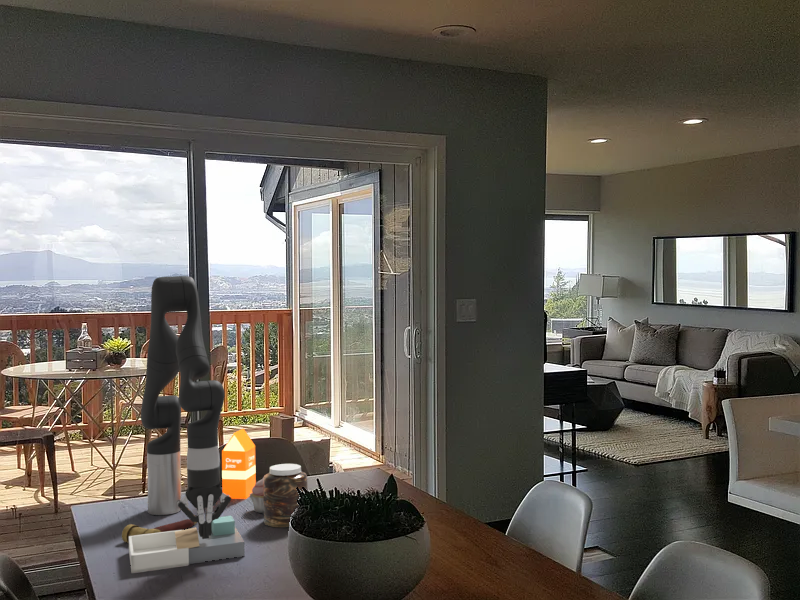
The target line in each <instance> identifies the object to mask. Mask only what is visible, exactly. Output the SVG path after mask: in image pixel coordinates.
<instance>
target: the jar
mask: <svg viewBox="0 0 800 600" xmlns="http://www.w3.org/2000/svg"><path fill="white" fill-rule="evenodd" d="M263 477H264V483H263V504H264V513H263V523H264V525H266V526H267V525H268V527H270V528H290V527H289V522H290V517H291V514H292V513H293V512H294V510H295V509H296V508H298V507H299V505H298V504H297V502H296V501H297V499H299V494H298V492H297V490H296V488H297V487H298V488H299V489H300V490H301V491H302V492H303V490H302V487H305V488H306V489H307V490H308V487H309V486H308V475H307V473H306V472H304V471H302V466H301V465H300V464H297V463H281V464H280V463H279V464H275V465H271V466H269V472H268V473H266V474H264V476H263ZM308 491H309V490H308Z"/></svg>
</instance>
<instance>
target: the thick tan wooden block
mask: <svg viewBox="0 0 800 600" xmlns="http://www.w3.org/2000/svg"><path fill="white" fill-rule="evenodd" d="M197 531H198V529H197V527H196V526H195V527H191V528H188V529H185V530H181V531H176V532H175V538H176V546H177V549H181V548H193V547H198V546H199V539H198V532H197Z"/></svg>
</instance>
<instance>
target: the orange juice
mask: <svg viewBox="0 0 800 600" xmlns="http://www.w3.org/2000/svg"><path fill="white" fill-rule="evenodd" d="M256 465H257V464H256V444H255V443H254V442H253V440H252V439H251V437H250V436H249V434H248V432H247V431H246V430H245V428H241V429H240V430H237V431H235V432H234V433H233V434H232V435H231V437H230V438H229V440H228V441H227V443H226V445H225V446H224V448H223V449H222V450H221V478H222V479H221V480H222V481H221V483H222V484H221V486H222V487H221V488H222V491H223V493H225V494H226V495H227V494H228V495H229V496H230V497H231V500H232V499H233V500H247V499H248V498H250V496H249V495H250V493H253V492H252V488H253V487H254V486H255V483H257V480H256V476H257V475H256V473H257V472H256V471H257V470H256Z"/></svg>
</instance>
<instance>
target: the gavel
mask: <svg viewBox="0 0 800 600" xmlns="http://www.w3.org/2000/svg"><path fill="white" fill-rule="evenodd" d="M196 524H198V522H192V521H191V520H190V519H189V518H187V519H183V520H179V521H175V522H170V523H168V524H164V525H160V526H156V527H154V528H146V527H142V526H141V527H140V526H139V525H138V524H137V525H136V524H132V523H129V524H127V525H126V526H124V528H123V529H122V532H121V540H122V542H124V543H126V542H127V544H129V536H134V535H143V534H151V533H159V532H167V531H176V530H184V529H185V530H186V529H187V528H188V529H190V527H191V528H193V525H194V526H195V525H196Z"/></svg>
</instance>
